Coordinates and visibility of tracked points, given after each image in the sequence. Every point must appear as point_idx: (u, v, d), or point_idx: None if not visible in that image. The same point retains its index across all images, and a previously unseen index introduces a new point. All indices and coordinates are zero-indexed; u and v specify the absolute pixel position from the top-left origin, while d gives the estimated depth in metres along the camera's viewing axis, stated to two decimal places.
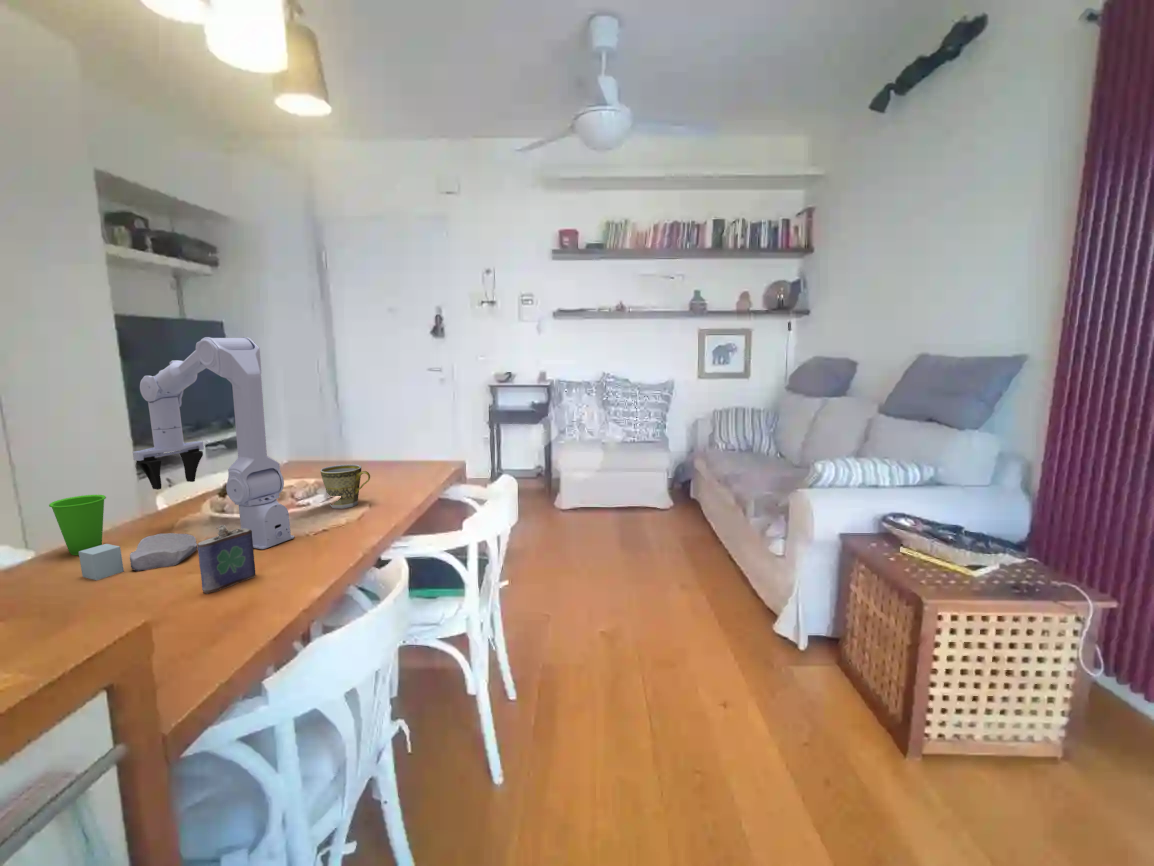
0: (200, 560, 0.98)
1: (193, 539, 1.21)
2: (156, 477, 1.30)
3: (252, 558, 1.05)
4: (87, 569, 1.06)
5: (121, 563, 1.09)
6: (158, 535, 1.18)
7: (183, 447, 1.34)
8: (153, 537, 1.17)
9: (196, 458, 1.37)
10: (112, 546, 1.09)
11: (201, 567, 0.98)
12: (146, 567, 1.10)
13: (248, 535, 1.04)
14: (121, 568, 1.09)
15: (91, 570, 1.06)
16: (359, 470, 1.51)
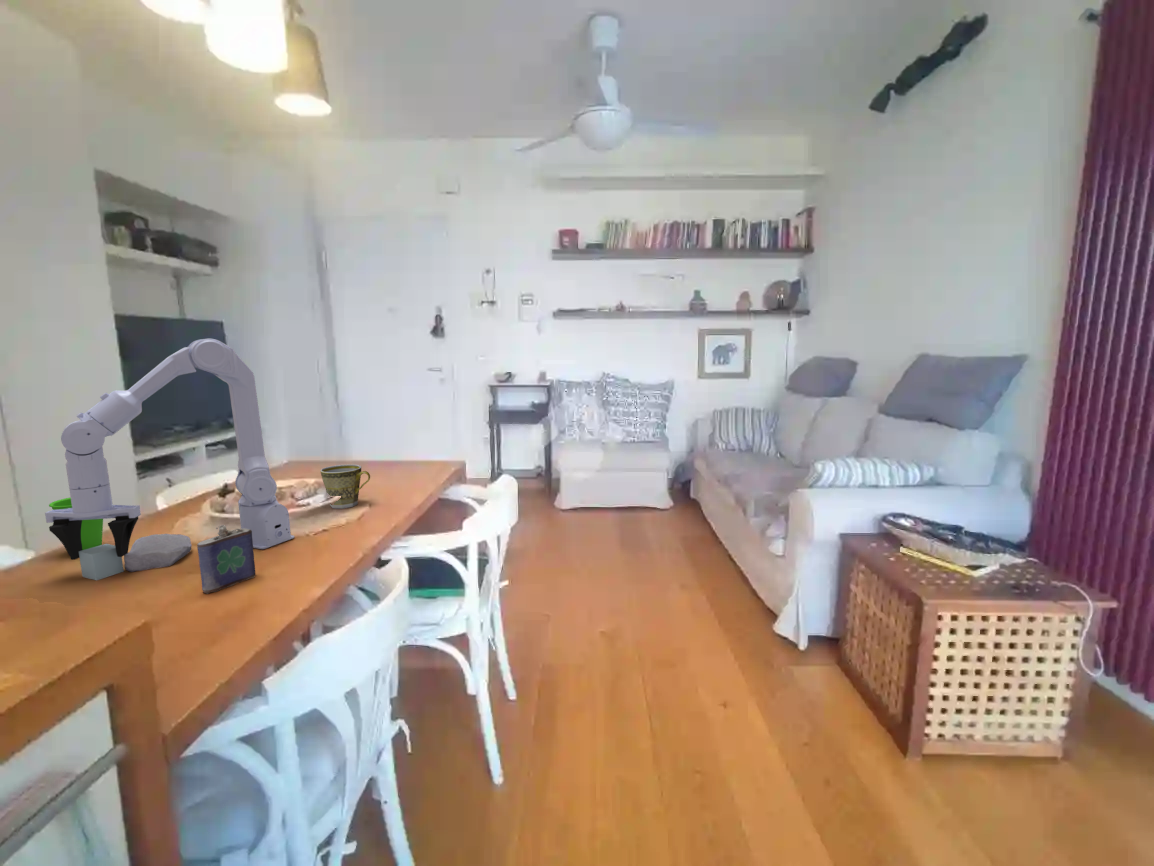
0: (200, 560, 0.98)
1: (187, 540, 1.20)
2: (64, 545, 1.05)
3: (252, 558, 1.05)
4: (87, 569, 1.06)
5: (121, 563, 1.09)
6: (152, 536, 1.18)
7: (92, 514, 1.04)
8: (147, 538, 1.17)
9: (114, 529, 1.06)
10: (112, 546, 1.09)
11: (201, 567, 0.98)
12: (140, 568, 1.10)
13: (248, 534, 1.04)
14: (121, 568, 1.09)
15: (91, 570, 1.06)
16: (359, 470, 1.51)
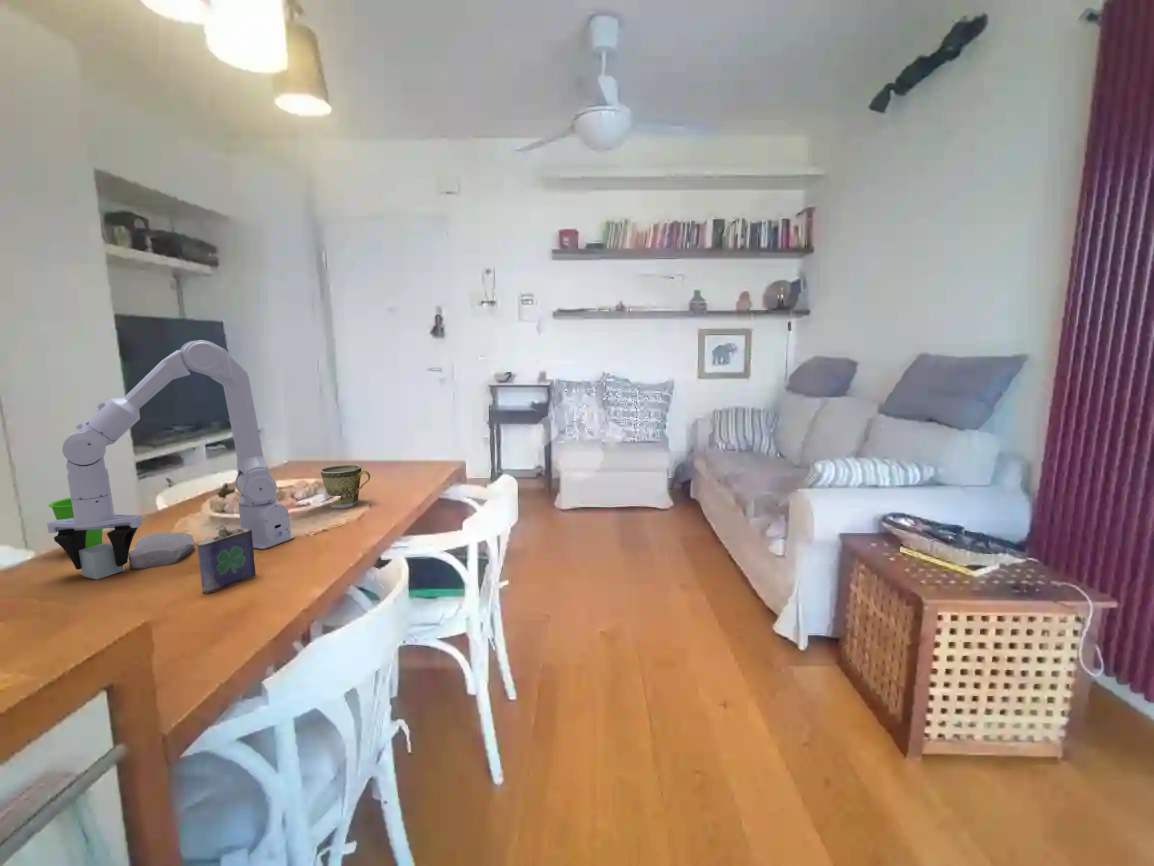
0: (200, 560, 0.98)
1: (190, 538, 1.21)
2: (69, 555, 1.06)
3: (252, 558, 1.05)
4: (87, 568, 1.06)
5: None
6: (155, 534, 1.19)
7: (94, 524, 1.05)
8: (150, 536, 1.18)
9: (114, 539, 1.06)
10: None
11: (201, 567, 0.98)
12: (145, 565, 1.11)
13: (248, 534, 1.04)
14: (121, 567, 1.09)
15: (91, 568, 1.06)
16: (359, 470, 1.51)
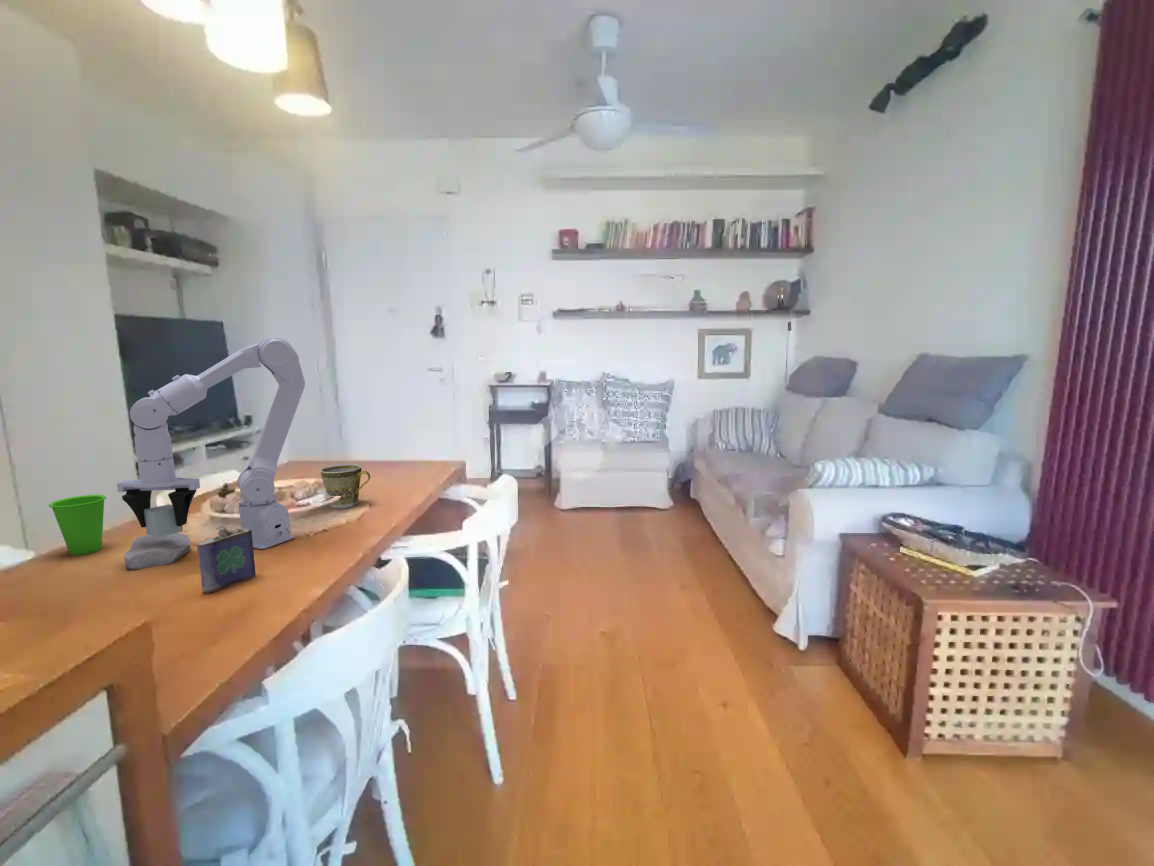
0: (200, 560, 0.98)
1: (186, 538, 1.21)
2: (135, 514, 1.13)
3: (252, 558, 1.05)
4: (150, 526, 1.14)
5: None
6: None
7: (157, 485, 1.11)
8: (146, 536, 1.18)
9: (174, 500, 1.13)
10: None
11: (201, 567, 0.98)
12: (141, 566, 1.11)
13: (248, 535, 1.04)
14: (180, 528, 1.16)
15: (153, 527, 1.13)
16: (359, 470, 1.51)
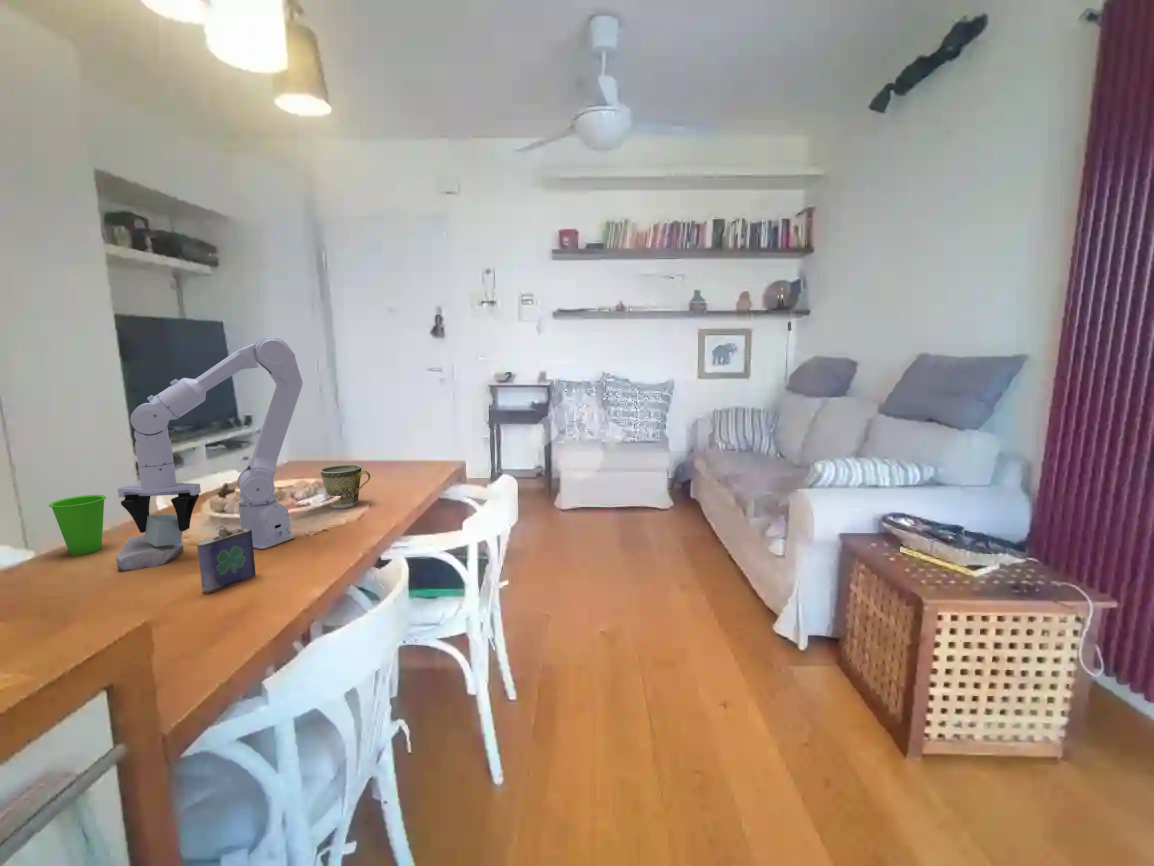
0: (200, 560, 0.98)
1: None
2: (134, 519, 1.13)
3: (252, 558, 1.05)
4: (150, 534, 1.14)
5: (181, 535, 1.16)
6: (144, 536, 1.18)
7: (158, 490, 1.12)
8: (139, 538, 1.17)
9: (177, 505, 1.13)
10: None
11: (201, 567, 0.98)
12: (133, 567, 1.10)
13: (248, 535, 1.04)
14: (179, 539, 1.16)
15: (154, 535, 1.13)
16: (359, 470, 1.51)
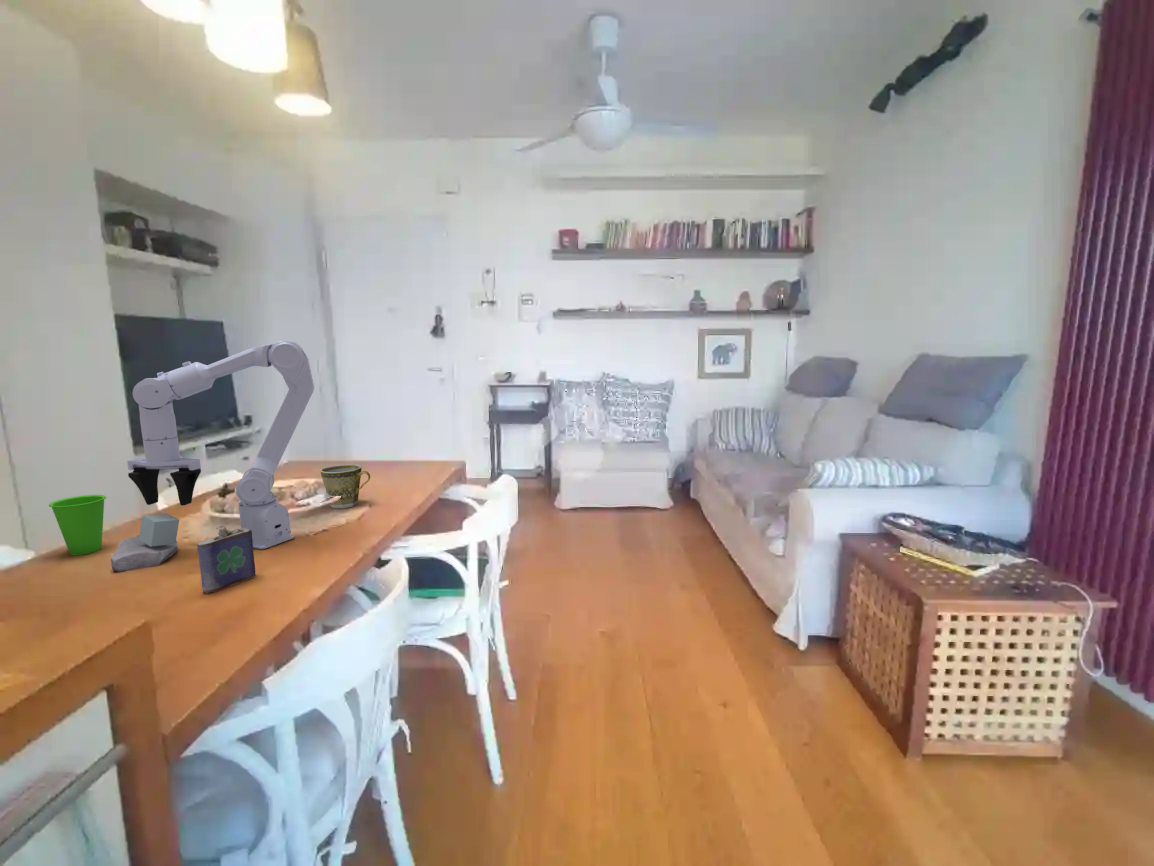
0: (200, 560, 0.98)
1: None
2: (141, 491, 1.16)
3: (252, 558, 1.05)
4: (145, 534, 1.14)
5: (175, 535, 1.16)
6: (138, 536, 1.18)
7: (159, 464, 1.14)
8: (133, 538, 1.17)
9: (176, 480, 1.14)
10: (172, 517, 1.17)
11: (201, 567, 0.98)
12: (128, 568, 1.10)
13: (248, 535, 1.04)
14: (174, 540, 1.16)
15: (148, 535, 1.13)
16: (359, 470, 1.51)
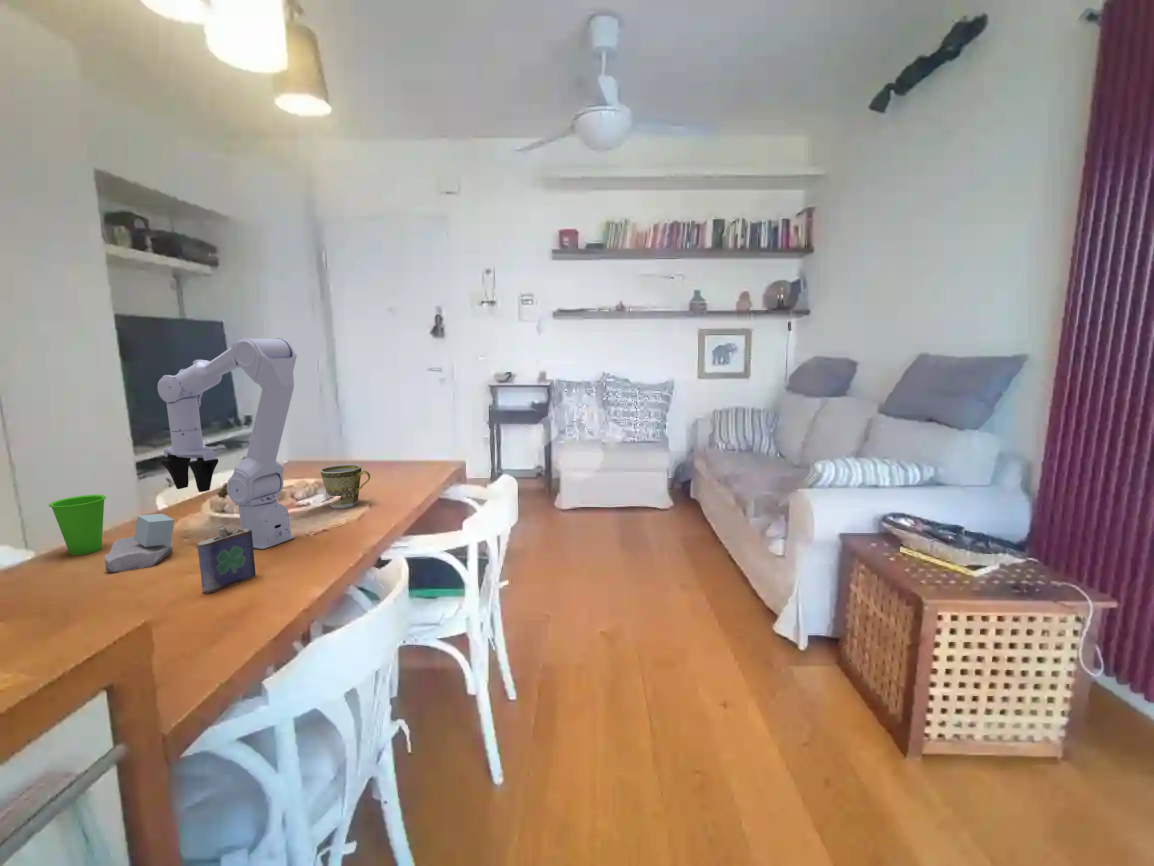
0: (200, 560, 0.98)
1: None
2: (171, 476, 1.29)
3: (252, 558, 1.05)
4: (140, 534, 1.14)
5: (170, 535, 1.16)
6: (132, 537, 1.17)
7: (180, 453, 1.25)
8: (127, 539, 1.16)
9: (192, 468, 1.25)
10: (167, 518, 1.17)
11: (201, 567, 0.98)
12: (122, 569, 1.10)
13: (248, 535, 1.04)
14: (169, 540, 1.16)
15: (143, 535, 1.13)
16: (359, 470, 1.51)
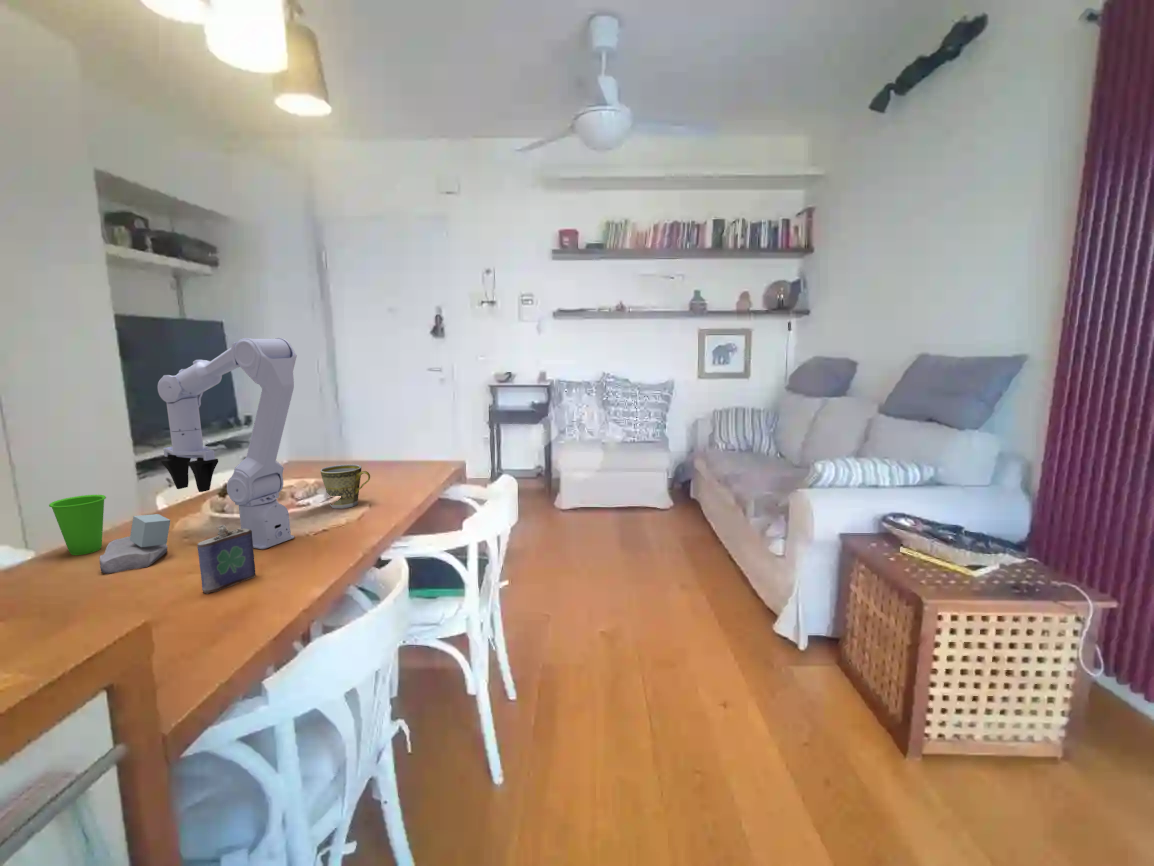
0: (200, 560, 0.98)
1: None
2: (171, 476, 1.29)
3: (252, 558, 1.05)
4: (136, 534, 1.14)
5: (166, 536, 1.16)
6: (126, 538, 1.17)
7: (180, 453, 1.25)
8: (121, 540, 1.16)
9: (192, 468, 1.25)
10: (163, 518, 1.16)
11: (201, 567, 0.98)
12: (117, 570, 1.09)
13: (248, 535, 1.04)
14: (165, 540, 1.16)
15: (139, 536, 1.13)
16: (359, 470, 1.51)
